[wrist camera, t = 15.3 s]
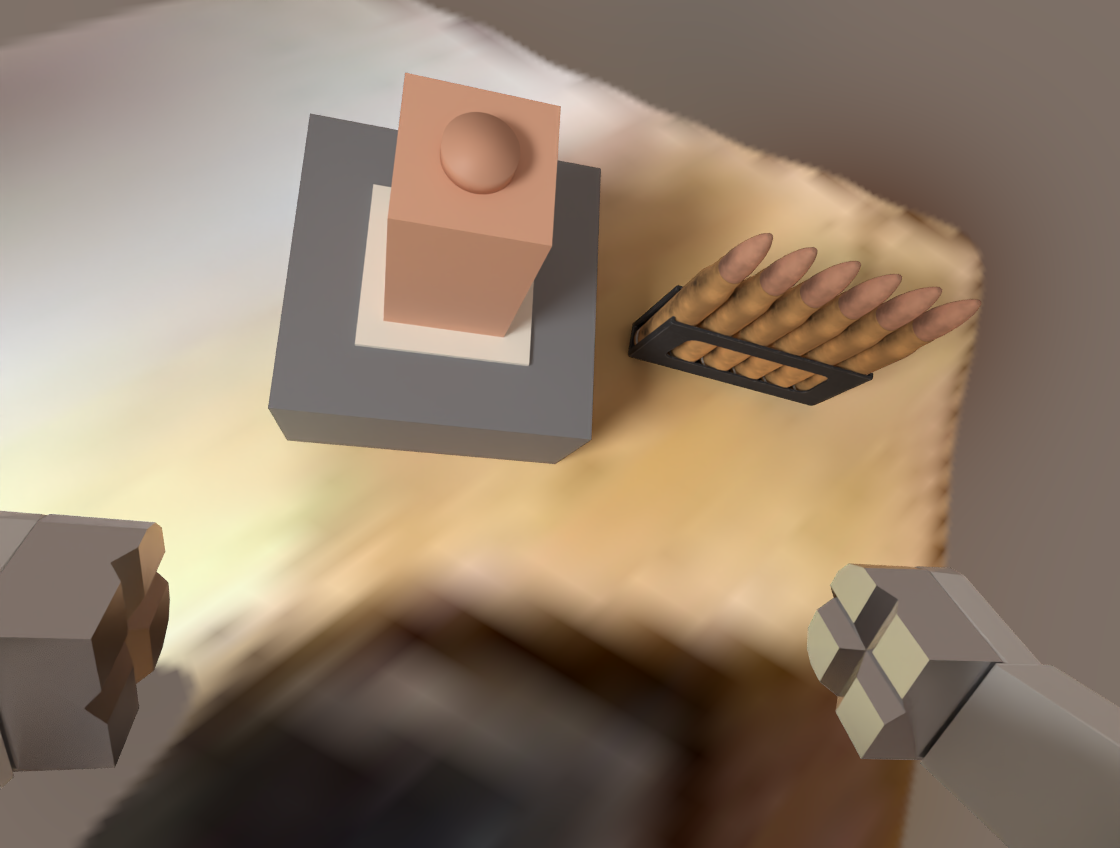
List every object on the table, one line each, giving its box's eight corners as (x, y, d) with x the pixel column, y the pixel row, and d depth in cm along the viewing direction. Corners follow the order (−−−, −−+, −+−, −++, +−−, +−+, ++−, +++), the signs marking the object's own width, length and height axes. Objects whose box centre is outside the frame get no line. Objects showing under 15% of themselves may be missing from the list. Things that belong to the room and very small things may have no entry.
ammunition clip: (817, 374, 39) (1001, 286, 27) (814, 406, 38) (1000, 331, 27) (632, 322, 37) (749, 204, 25) (627, 356, 36) (743, 251, 25)
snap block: (383, 320, 27) (387, 206, 19) (396, 210, 28) (406, 58, 20) (503, 337, 28) (557, 236, 20) (511, 230, 29) (565, 93, 21)
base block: (287, 440, 31) (267, 406, 25) (320, 192, 34) (309, 110, 28) (554, 463, 34) (592, 438, 28) (565, 232, 37) (602, 166, 31)
